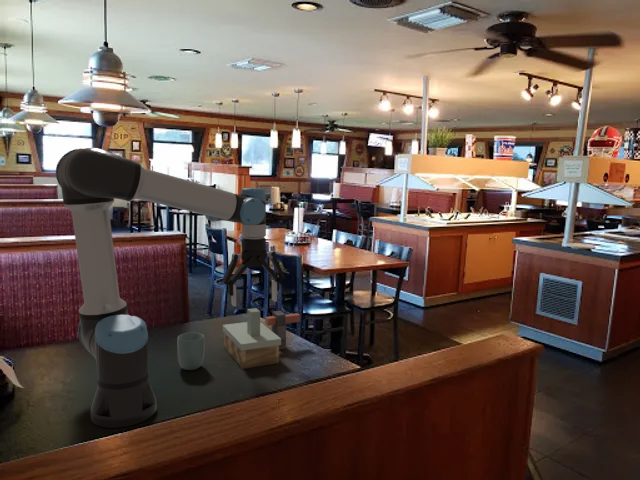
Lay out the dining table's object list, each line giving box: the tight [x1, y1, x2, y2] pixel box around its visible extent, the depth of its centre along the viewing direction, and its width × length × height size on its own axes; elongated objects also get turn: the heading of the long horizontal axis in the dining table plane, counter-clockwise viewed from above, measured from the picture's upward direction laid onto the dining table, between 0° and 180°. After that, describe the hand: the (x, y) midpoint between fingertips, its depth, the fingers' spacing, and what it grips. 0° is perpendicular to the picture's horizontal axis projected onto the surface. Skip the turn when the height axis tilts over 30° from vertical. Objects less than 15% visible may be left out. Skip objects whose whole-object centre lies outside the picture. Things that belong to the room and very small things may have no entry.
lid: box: [222, 307, 281, 351], centre depth 160 cm, size 21×13×12 cm, turn 27°
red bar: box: [264, 312, 301, 327], centre depth 169 cm, size 2×12×2 cm, turn 117°
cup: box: [176, 332, 205, 371], centre depth 149 cm, size 8×8×10 cm
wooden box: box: [223, 310, 287, 370], centre depth 162 cm, size 20×19×12 cm
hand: (254, 303), depth 156 cm, fingers open, 13 cm apart
